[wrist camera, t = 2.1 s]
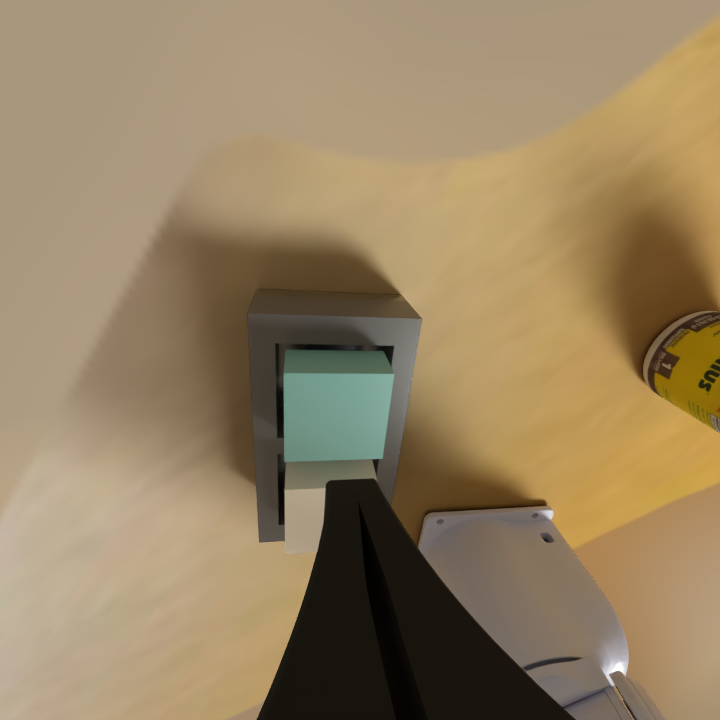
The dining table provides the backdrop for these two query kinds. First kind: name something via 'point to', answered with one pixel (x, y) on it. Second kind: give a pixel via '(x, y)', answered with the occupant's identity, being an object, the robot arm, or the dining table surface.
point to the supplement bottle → (688, 366)
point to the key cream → (314, 498)
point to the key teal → (336, 404)
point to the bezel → (334, 327)
